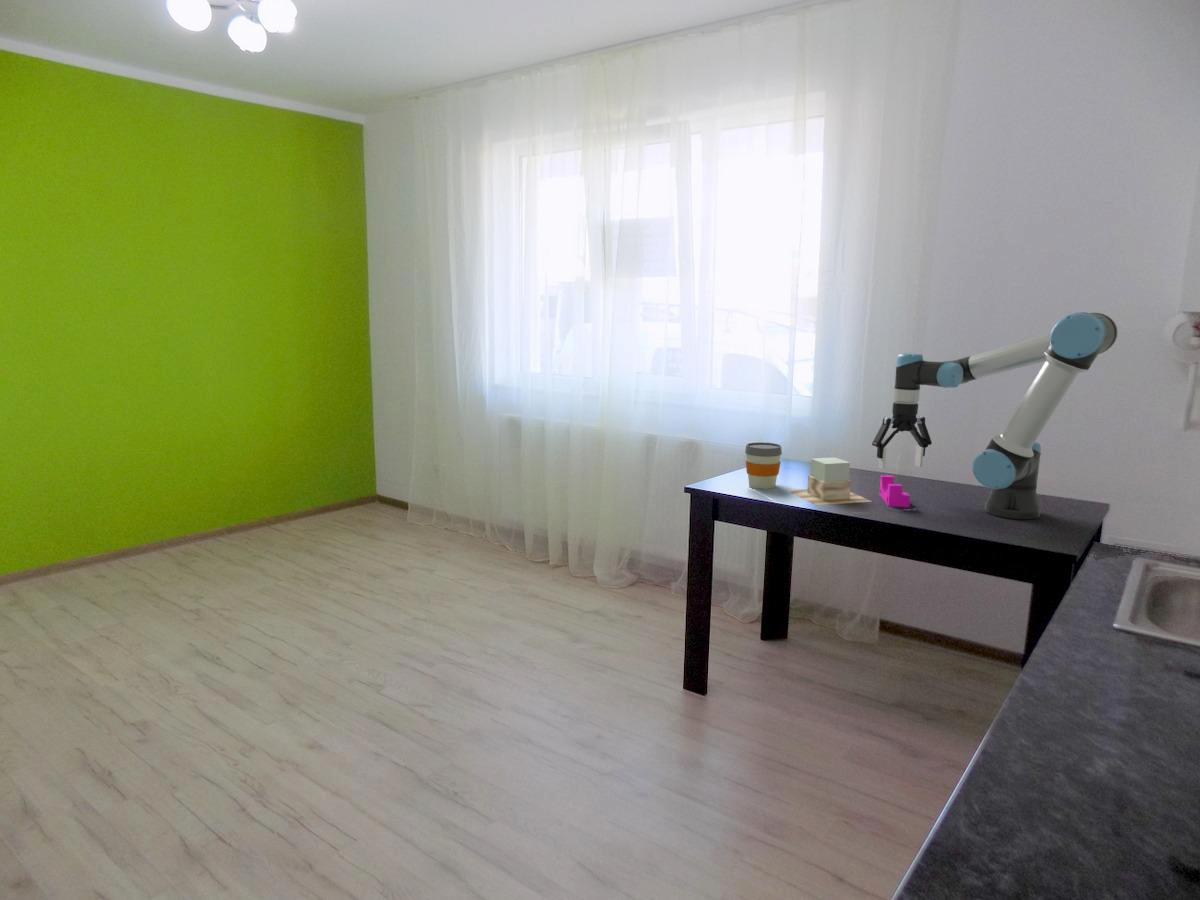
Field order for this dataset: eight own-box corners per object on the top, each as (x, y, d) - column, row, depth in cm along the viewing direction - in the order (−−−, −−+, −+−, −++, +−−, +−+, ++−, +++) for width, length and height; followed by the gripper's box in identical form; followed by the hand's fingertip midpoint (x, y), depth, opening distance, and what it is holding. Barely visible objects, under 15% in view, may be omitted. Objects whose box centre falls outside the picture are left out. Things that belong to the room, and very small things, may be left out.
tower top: (848, 480, 247) (849, 462, 246) (824, 481, 245) (825, 464, 244) (834, 474, 256) (835, 457, 255) (810, 476, 254) (811, 458, 253)
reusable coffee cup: (762, 481, 275) (763, 441, 272) (787, 488, 265) (789, 446, 262) (736, 485, 268) (737, 444, 266) (761, 493, 258) (763, 450, 255)
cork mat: (872, 503, 245) (872, 501, 244) (816, 506, 240) (816, 505, 240) (839, 488, 264) (839, 487, 264) (786, 492, 259) (786, 490, 259)
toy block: (909, 509, 238) (910, 486, 236) (888, 508, 239) (890, 485, 237) (898, 497, 252) (900, 476, 251) (879, 497, 253) (880, 475, 252)
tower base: (849, 498, 248) (851, 480, 247) (822, 500, 246) (823, 482, 245) (833, 491, 258) (834, 474, 257) (807, 493, 255) (808, 475, 254)
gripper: (932, 399, 246) (925, 463, 250) (864, 401, 240) (859, 466, 244) (947, 402, 239) (940, 468, 243) (878, 404, 233) (872, 471, 237)
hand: (899, 467), depth 244 cm, fingers open, 13 cm apart
